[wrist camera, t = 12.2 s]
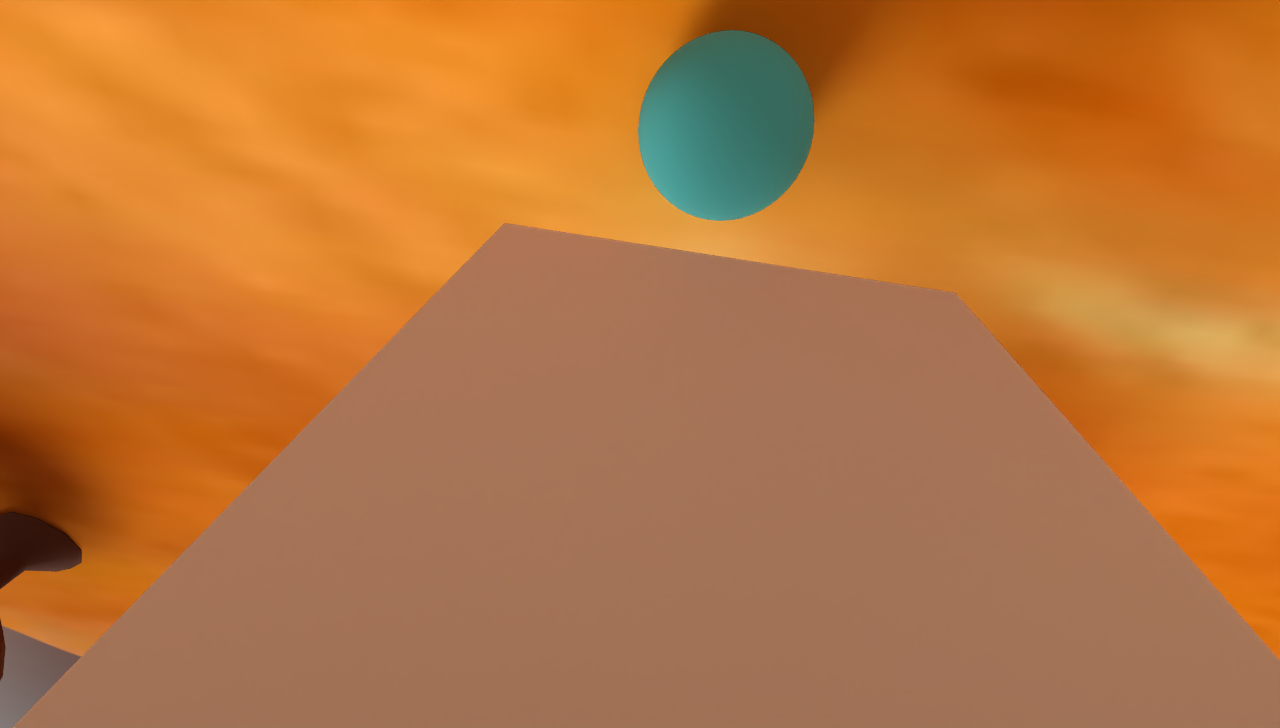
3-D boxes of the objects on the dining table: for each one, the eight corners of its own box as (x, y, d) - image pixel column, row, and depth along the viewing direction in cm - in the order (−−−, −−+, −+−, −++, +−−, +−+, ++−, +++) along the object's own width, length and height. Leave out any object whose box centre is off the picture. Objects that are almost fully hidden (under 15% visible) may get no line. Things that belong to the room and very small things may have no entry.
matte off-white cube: (815, 568, 13) (948, 1260, 6) (512, 517, 13) (276, 1125, 6) (955, 292, 9) (2145, 1639, 2) (504, 222, 9) (-370, 1117, 2)
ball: (844, 208, 13) (805, 189, 18) (821, -19, 12) (784, 24, 16) (655, 252, 14) (664, 223, 19) (606, 48, 13) (628, 71, 17)
